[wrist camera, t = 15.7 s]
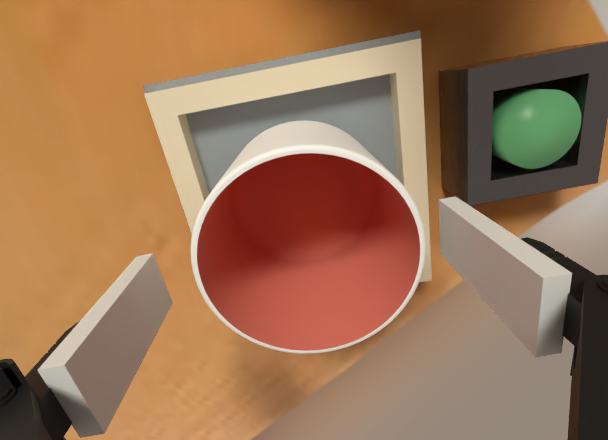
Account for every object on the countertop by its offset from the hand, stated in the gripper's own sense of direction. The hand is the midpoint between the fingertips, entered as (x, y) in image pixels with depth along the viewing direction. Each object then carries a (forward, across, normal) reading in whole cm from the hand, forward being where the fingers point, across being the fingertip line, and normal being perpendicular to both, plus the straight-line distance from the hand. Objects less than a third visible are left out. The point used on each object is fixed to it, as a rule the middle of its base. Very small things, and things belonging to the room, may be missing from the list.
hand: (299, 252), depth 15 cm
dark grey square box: (+10, +15, +2) cm, 18 cm away
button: (+8, +15, +2) cm, 17 cm away
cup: (+9, +1, 0) cm, 9 cm away
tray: (+10, +1, 0) cm, 10 cm away
